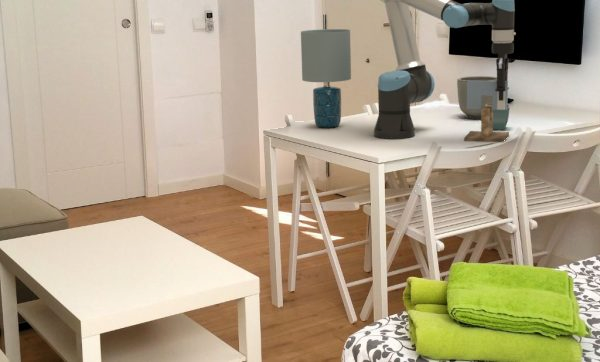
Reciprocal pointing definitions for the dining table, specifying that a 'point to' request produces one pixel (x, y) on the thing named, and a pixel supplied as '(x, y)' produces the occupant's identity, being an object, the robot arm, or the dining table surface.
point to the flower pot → (500, 118)
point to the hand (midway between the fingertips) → (501, 108)
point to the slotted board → (483, 93)
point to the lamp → (326, 70)
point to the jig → (486, 129)
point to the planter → (463, 95)
